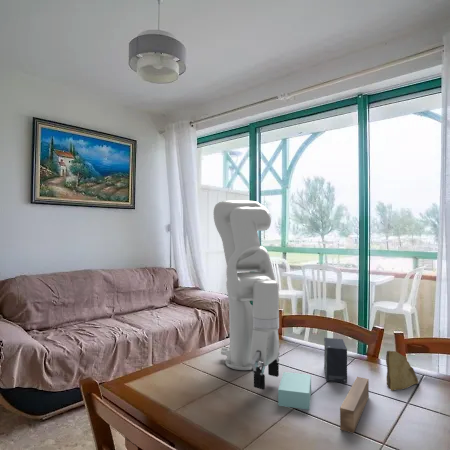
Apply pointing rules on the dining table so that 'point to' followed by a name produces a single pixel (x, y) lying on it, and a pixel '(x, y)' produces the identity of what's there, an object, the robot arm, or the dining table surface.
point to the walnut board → (354, 405)
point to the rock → (399, 372)
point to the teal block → (295, 390)
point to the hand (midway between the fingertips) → (266, 381)
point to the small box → (335, 360)
